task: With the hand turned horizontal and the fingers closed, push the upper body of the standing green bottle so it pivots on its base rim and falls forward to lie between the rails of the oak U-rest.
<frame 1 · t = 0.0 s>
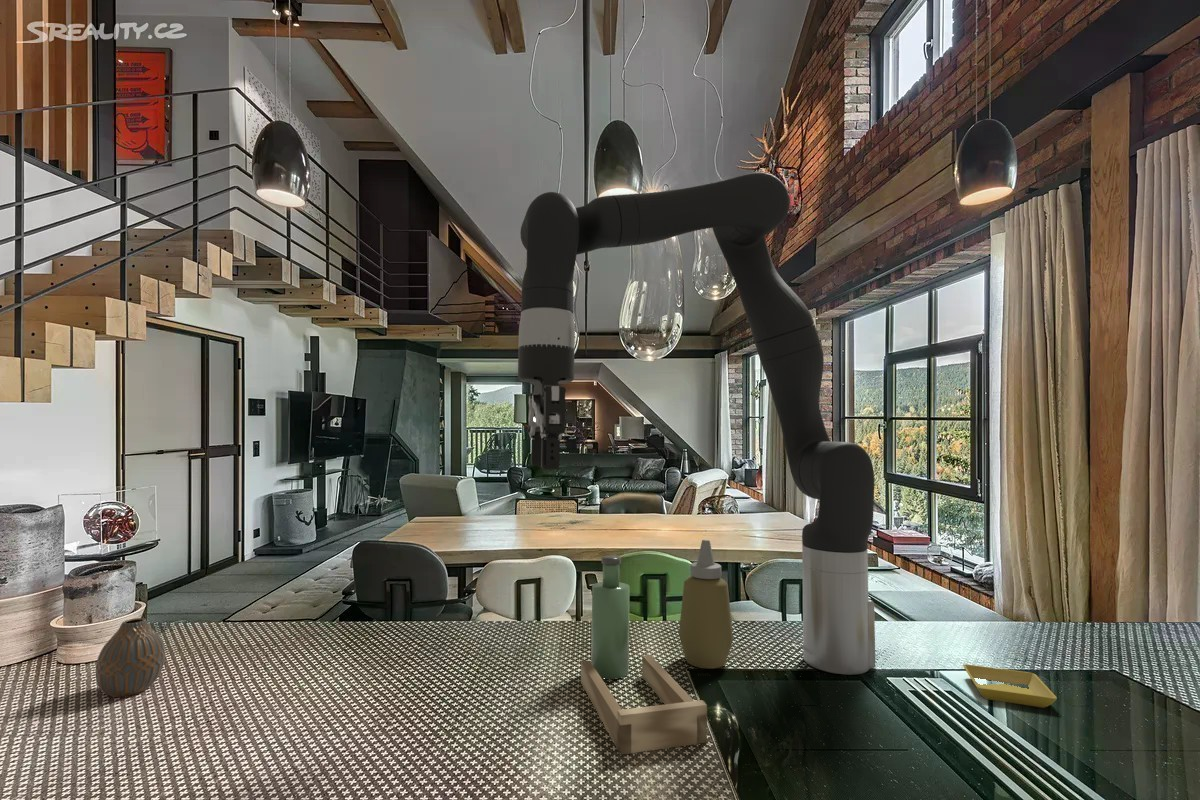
hand: (544, 467, 75), 29 cm above the countertop, tool pointing down, fingers open, 8 cm apart
vase: (129, 692, 73), on the countertop
squeeze bottle: (705, 663, 85), on the countertop
bottle: (609, 671, 81), on the countertop
yellow shallow square tray: (1007, 697, 76), on the countertop
u rest: (637, 710, 69), on the countertop
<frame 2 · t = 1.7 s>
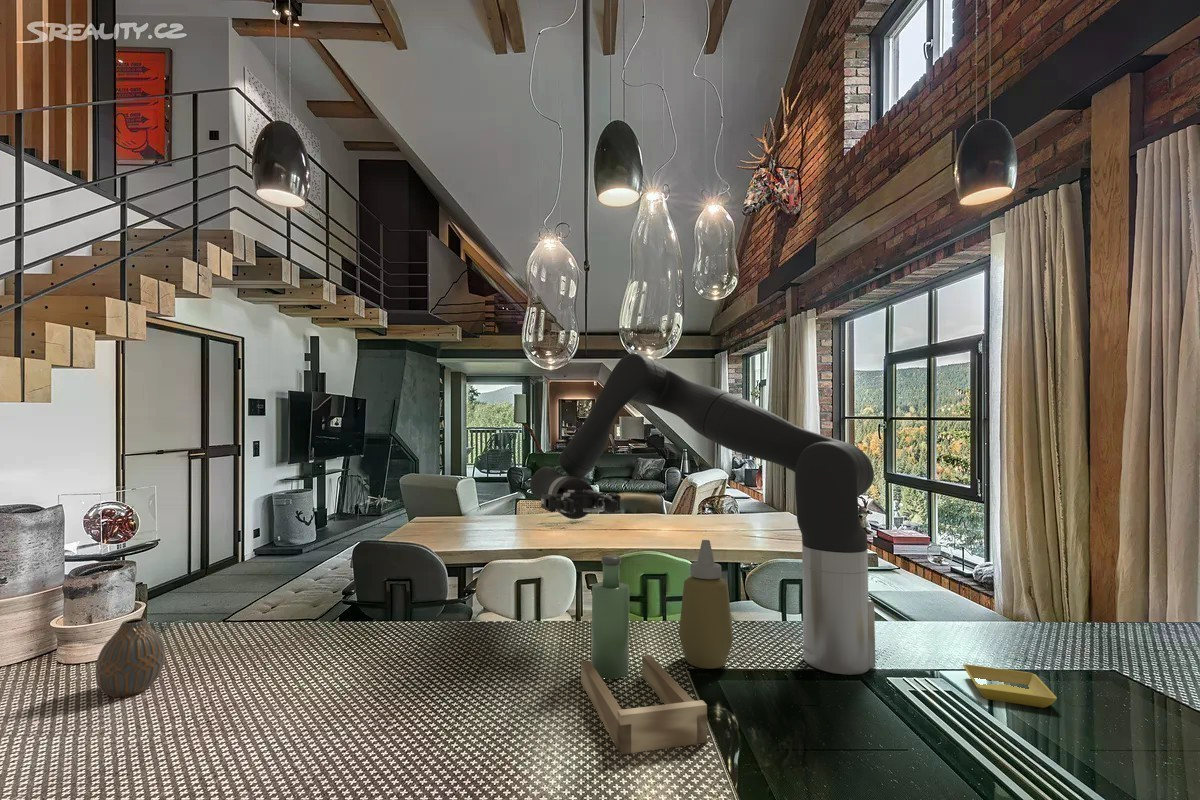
hand: (592, 506, 92), 22 cm above the countertop, tool horizontal, fingers open, 6 cm apart
nothing on the countertop moved.
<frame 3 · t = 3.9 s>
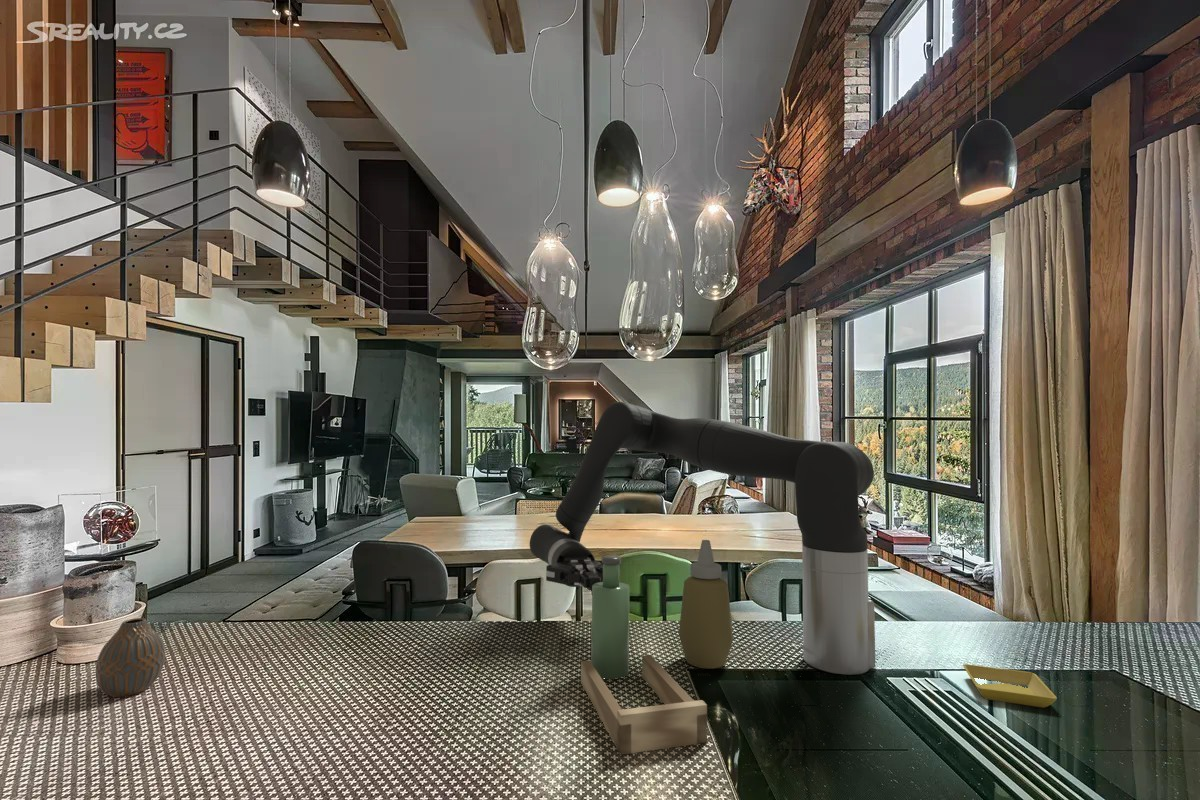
hand: (593, 583, 91), 10 cm above the countertop, tool horizontal, fingers closed
nothing on the countertop moved.
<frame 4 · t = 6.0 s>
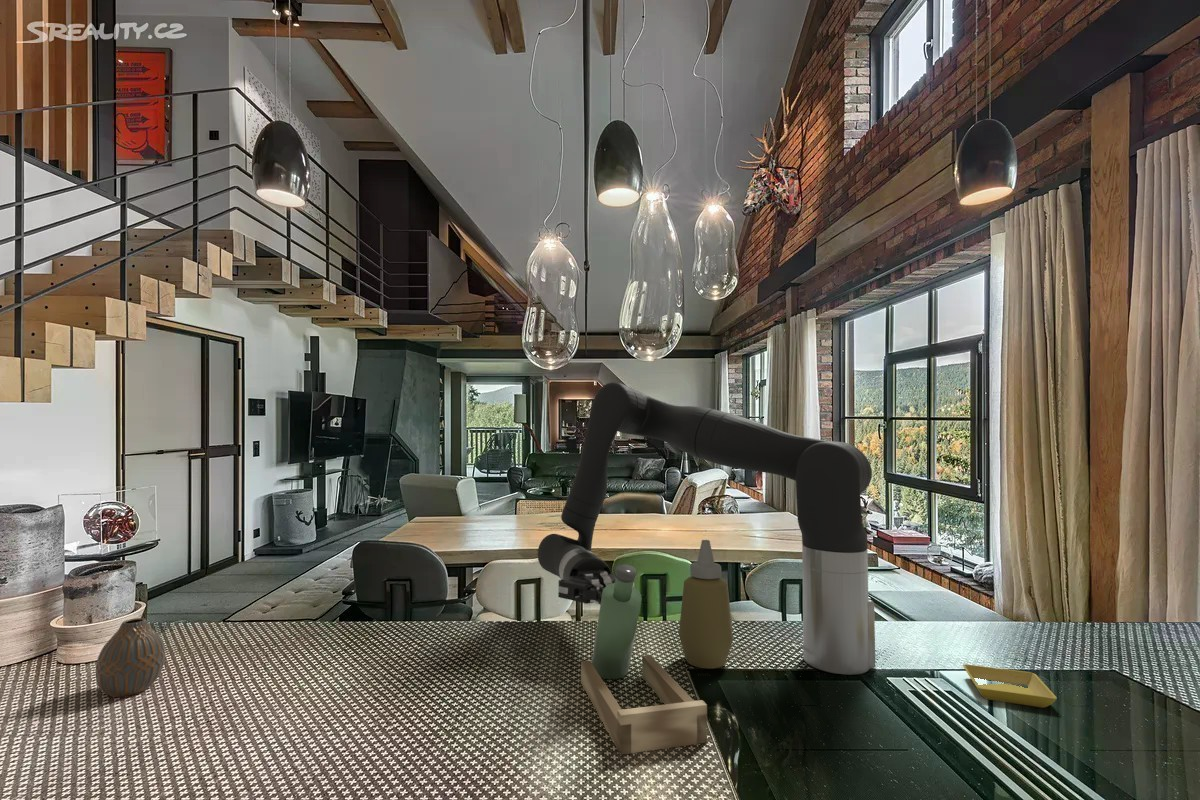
hand: (613, 602, 81), 10 cm above the countertop, tool horizontal, fingers closed
bottle: (610, 664, 81), point 1 cm above the countertop, tilted 25°
everything else where it was.
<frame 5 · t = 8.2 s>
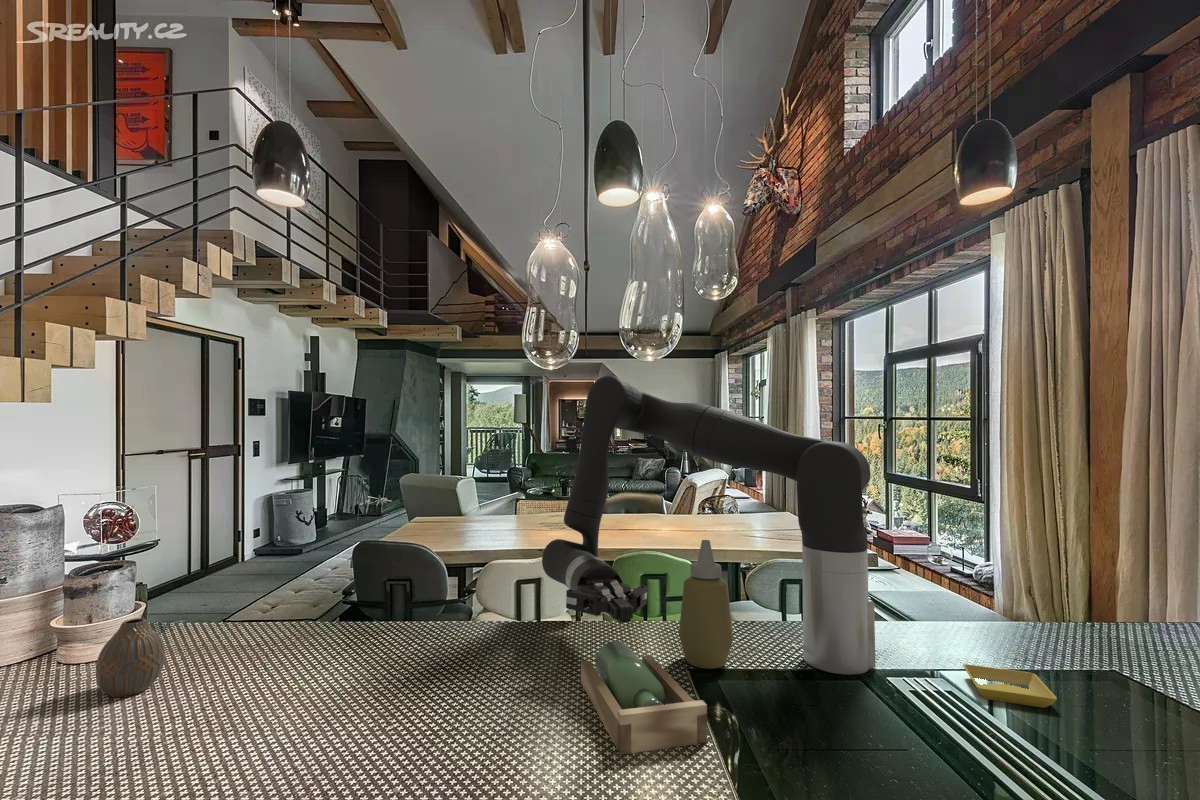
hand: (625, 614, 75), 10 cm above the countertop, tool horizontal, fingers closed
bottle: (614, 660, 78), point 3 cm above the countertop, tilted 90°
everything else where it was.
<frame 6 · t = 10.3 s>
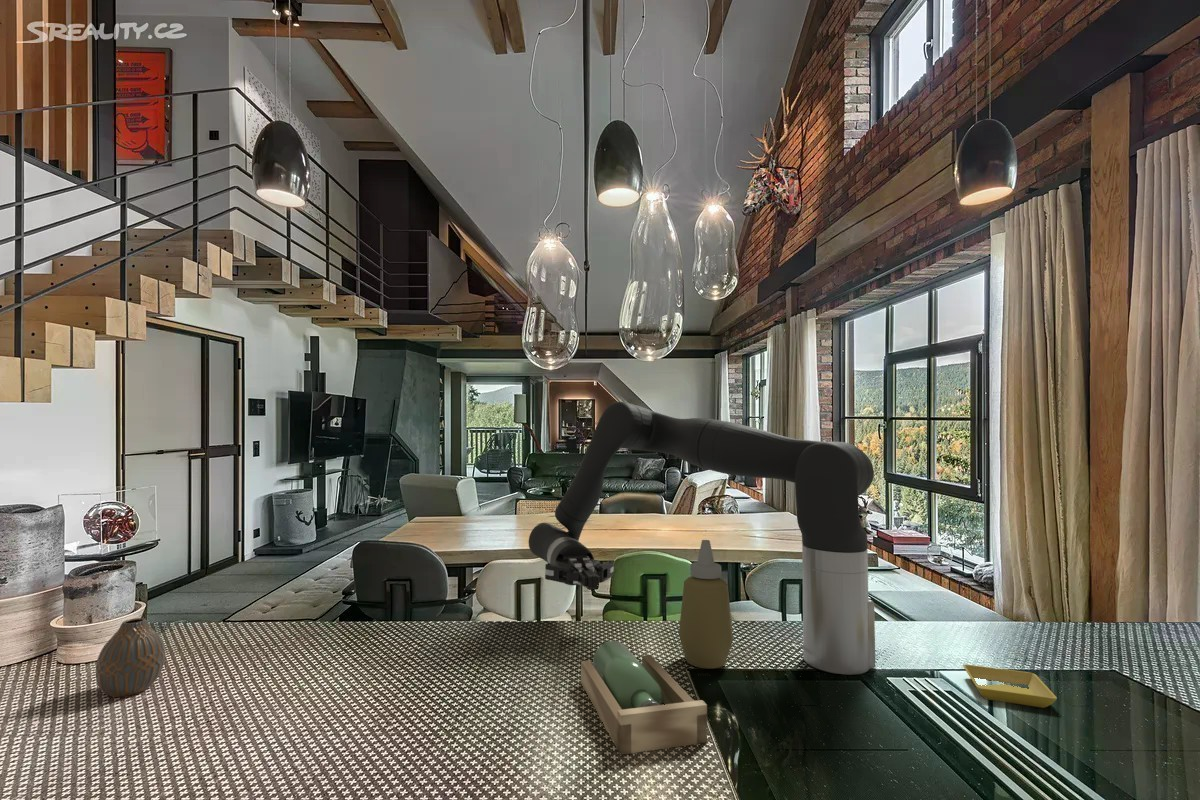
hand: (592, 582, 91), 10 cm above the countertop, tool horizontal, fingers closed
nothing on the countertop moved.
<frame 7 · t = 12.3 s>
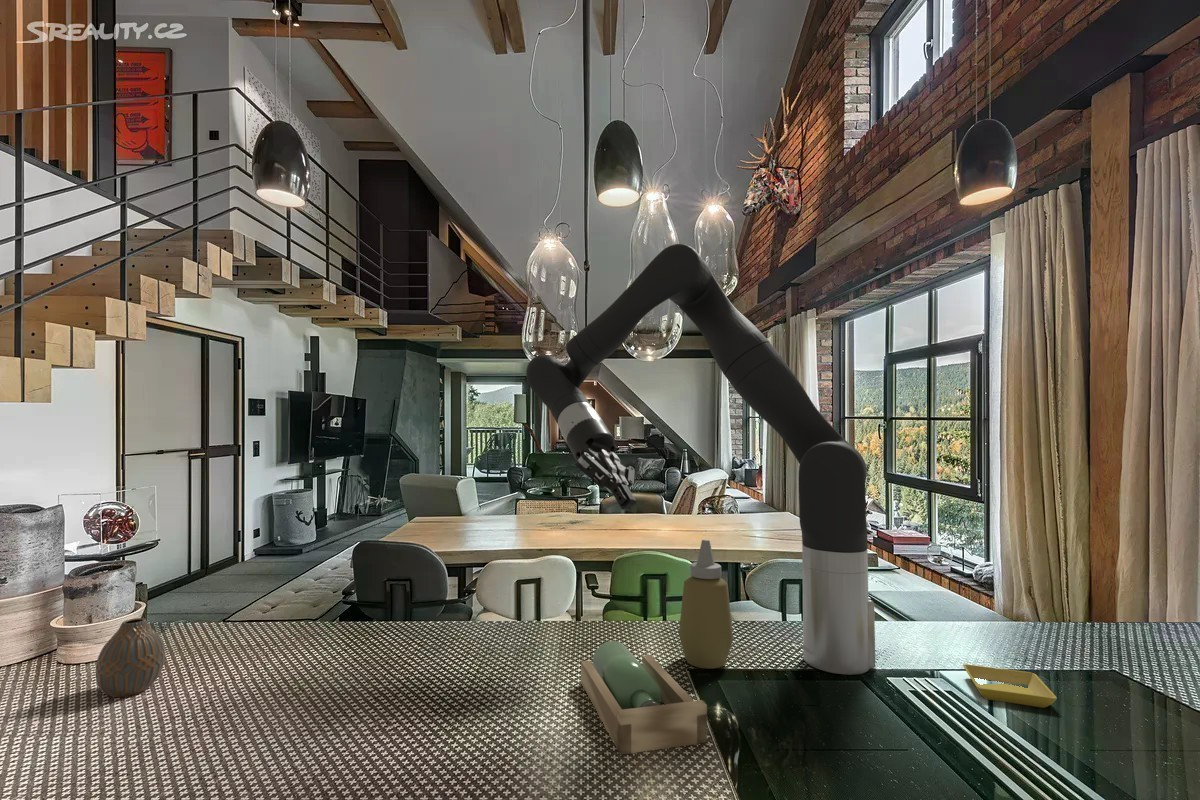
hand: (630, 506, 88), 23 cm above the countertop, tool tilted 50°, fingers closed
nothing on the countertop moved.
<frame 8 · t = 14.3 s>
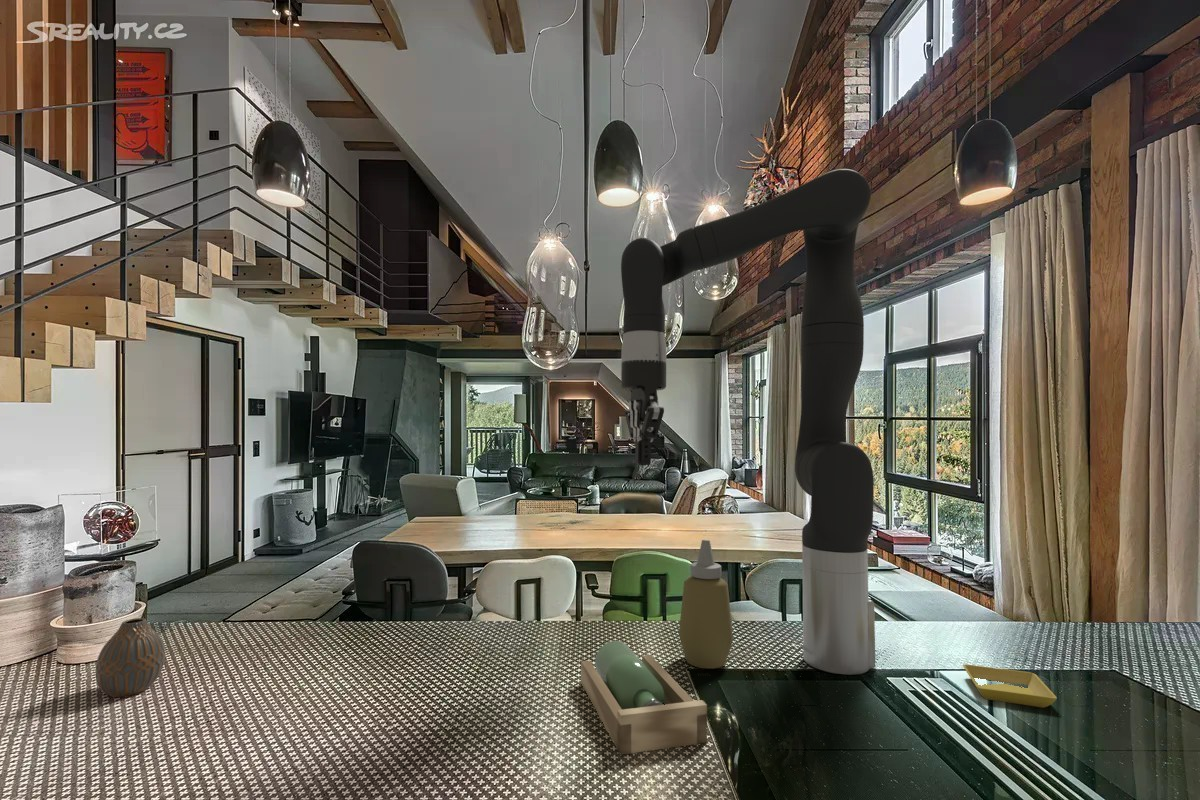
hand: (642, 464, 94), 29 cm above the countertop, tool pointing down, fingers closed
nothing on the countertop moved.
at the end: bottle tilted 90°; bottle inside the target area (6.8 cm from its centre), point 2.5 cm above the countertop; the gripper is holding nothing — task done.
